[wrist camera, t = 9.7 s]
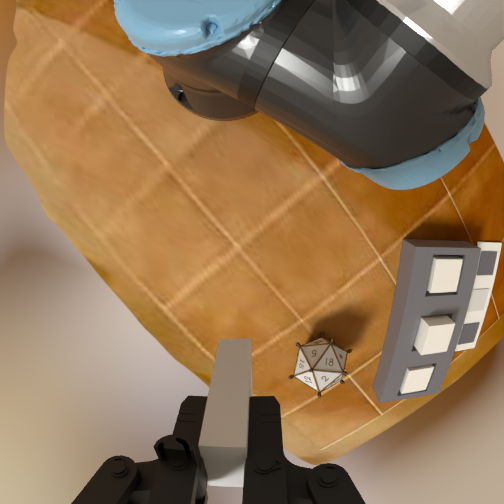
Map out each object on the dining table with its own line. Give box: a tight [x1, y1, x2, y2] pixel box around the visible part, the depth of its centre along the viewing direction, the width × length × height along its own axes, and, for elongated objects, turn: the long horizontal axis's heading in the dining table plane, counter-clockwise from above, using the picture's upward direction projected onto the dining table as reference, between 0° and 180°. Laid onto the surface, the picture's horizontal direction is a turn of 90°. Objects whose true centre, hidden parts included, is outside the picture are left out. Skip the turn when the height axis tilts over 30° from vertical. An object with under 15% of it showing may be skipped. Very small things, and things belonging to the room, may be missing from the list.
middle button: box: [413, 314, 455, 355], centre depth 39 cm, size 5×5×3 cm
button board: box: [373, 239, 481, 403], centre depth 41 cm, size 26×12×4 cm, turn 0°
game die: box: [288, 332, 353, 398], centre depth 41 cm, size 9×8×10 cm
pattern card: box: [455, 242, 502, 351], centre depth 42 cm, size 20×6×1 cm, turn 0°
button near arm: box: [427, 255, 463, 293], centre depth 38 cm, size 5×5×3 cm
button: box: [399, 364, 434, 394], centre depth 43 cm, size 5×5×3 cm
